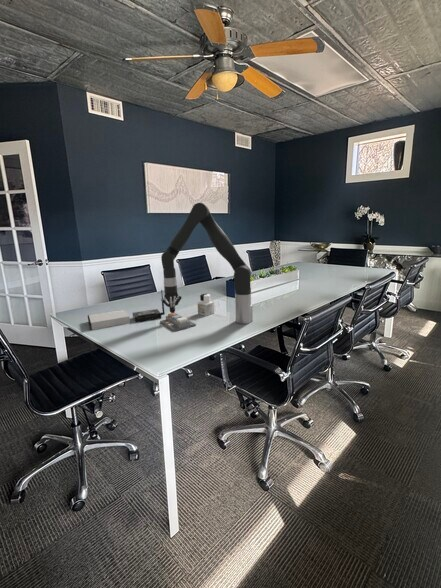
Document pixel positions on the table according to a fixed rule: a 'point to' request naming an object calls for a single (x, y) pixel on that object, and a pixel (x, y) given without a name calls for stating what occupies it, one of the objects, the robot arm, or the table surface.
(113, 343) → the table surface
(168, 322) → the keypad
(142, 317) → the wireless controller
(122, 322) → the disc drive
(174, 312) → the key terracotta
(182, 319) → the key cream
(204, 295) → the container
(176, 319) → the key slate
